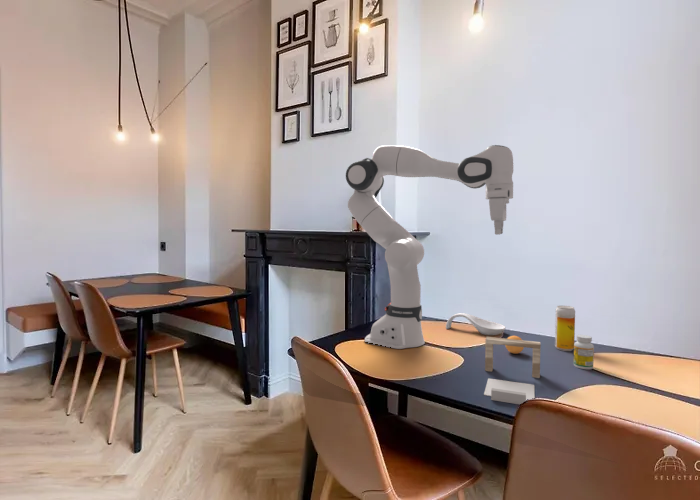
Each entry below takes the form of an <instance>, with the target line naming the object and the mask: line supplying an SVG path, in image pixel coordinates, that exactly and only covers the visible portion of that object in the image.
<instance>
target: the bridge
mask: <svg viewBox="0 0 700 500" xmlns="http://www.w3.org/2000/svg"><path fill="white" fill-rule="evenodd" d="M484 344H485V346H484V349H485V353H484V354H485V355H484V357H485V358H484V371H485V372H491V373H492V372H493V369H494V345H500V346H505V345H508V346H517V347H524V348H525V349H526V348H527V349H528V348H529V349H532V362H531V363H532V364H531V366H532V367H531V368H532V369H531V370H532V371H531V376H532V378H536V379H540V378H541V349H542V348H541V346H542V345H541V341H535V340H534V341H533V340H523V339H522V340H514V339H507V338H504V337H502V338H501V337H493V336H486V337H485V343H484Z"/></svg>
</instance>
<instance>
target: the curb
mask: <svg viewBox="0 0 700 500" xmlns="http://www.w3.org/2000/svg"><path fill="white" fill-rule="evenodd" d="M490 400H491V401H496V402H502V403H508V404H509V403H510V404H513V405H514V404H515V405H520V404H521V403H523V402H524V401H526V393H522V392H515V391H509V390H502V389H495V388H492V390H491V396H490Z"/></svg>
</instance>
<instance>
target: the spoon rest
mask: <svg viewBox="0 0 700 500" xmlns="http://www.w3.org/2000/svg"><path fill="white" fill-rule="evenodd" d="M460 317H462V318H464V319H466V320H468V321H469V322H470V323H471V324H472V325H473V327H474V328H475V329H476V330H477V331H478V332H479V333H480V334H481V335H484V336H485V335H486V336H498V335H500V334H502V333H504V331H505V330H506V326H505V325H503V324H501V323H499V322H494V321H491V320H487V319H484V318H481V317H478V316H476V315H472V314H469V313H463V312H460V313H456V314H453V315H451V316H450V317H449V318H448V320H447V321H446V323H445V329H446V330H448V329H450V328H451V327H452V323H453V320H455V319H457V318H460Z"/></svg>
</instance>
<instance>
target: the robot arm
mask: <svg viewBox="0 0 700 500" xmlns="http://www.w3.org/2000/svg"><path fill="white" fill-rule="evenodd" d="M513 156H514V154H513V152H512V150H511V148H510V147H508V146H505V145H499V144H498V145H497V144H494V145H492V144H491V145H489V146H488V147H487V148H486V149H484V150H483V151H481V152H479V153H477V154H475V155H472V156H469V157H466V158H464V159H463V160H461V162H460V163H458V162H453V161H452V162H451V161H445V160H440V159H437V158H434V157H432V156H431V155H429V154H427V153H426V152H424V151H422V150H420V149H418V148H414V147H410V146H406V145H405V146H404V145H391V144H390V145H379V146H378V147H376V148H375V149H374V151H373V153H372V156H371V158H369V157H366V158H364V159H361V160H358V161H356V162H353V163H352V164H350V165H349V166H348V167H347V168H346V172H345V179H346V182H347V185H348V186H349V187H350V188H352V189H353V190H354V191H353V194H352V195H351V197H349V198H348V201H347V208H348V210H349V211H350V213H351V215H352V216H353V218H354V219H355V221H356V222H357V223H358V224H359V226H361V228H362V229H363V230H364V231H365V232H366V233H367V235H368V237H370V238H371V239H372V240H373V241H374V242H375V243H377V244H378V245H380V246H381V247H382V248H383V249H385V252H384V260H385V262H386V264H387V269H388V270H387V271H388V275H389V276H388V277H389V283H390V302H389V303H388V304H387V305H386V306H385V307H384V312H385V314H384V315H383V316H381V317H380V318H379V319H377V320H376V321H375V322H374V323H372V326H371V328H370V329H371V330H370V333H369V334H367V335H366V336H365V337H364V342H368V343H367V344H369V343H373V344H372V345H375V344H378V345H377V346H380V345H382V346H381V347H385V346H386V347H385V348H390V347H391V348H392V349H395V350H396V349H397V350H401V349H408V348H417V347H421V346H423V345H425V343H426V342H425V339H424V338H425V337H424V333H423V327H422V319H423V309H422V305H421V292H422V291H421V286H422V285H421V282H420V278H419V271H418V270H419V269H418V265H419V264H420V263H421V262H422V261H423V259H424V256H425V248H424V246H423V244H422V242H420V241H419V240H417V238H415V236H414V235H412V234H411V232H410V231H408V230H407V229H406V228H404V226H402V225H401V224H400V223H398V221H396V219H395V218H394V217H392V215H391V214H390V213H389V212H388V211H387V210H386V209H385V208H384V206H383V205H381V203H380V202H379V201H378V200H377V199H376V198H377V197H378V195H379V192H380V191H381V189H383V186H384V184H385V176H395V177H400V178H440V179H445V180H446V179H447V180H450V181H451V180H452V181H456V182H458V183H459V182H460V183H461V184H463V185H465V186H466V187H467V188H469V189H479V188H482V187H484V186H485V200H488V205H489V215H490V219H491V221H493V225H494V234H495V235H502V234H503V232H504V230H503V229H504V221H507V205H508V204H510V200H511V199H513V198H514V181H513V174H514V157H513ZM391 348H390V349H391Z"/></svg>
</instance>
